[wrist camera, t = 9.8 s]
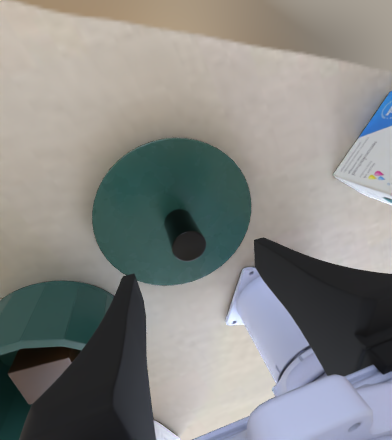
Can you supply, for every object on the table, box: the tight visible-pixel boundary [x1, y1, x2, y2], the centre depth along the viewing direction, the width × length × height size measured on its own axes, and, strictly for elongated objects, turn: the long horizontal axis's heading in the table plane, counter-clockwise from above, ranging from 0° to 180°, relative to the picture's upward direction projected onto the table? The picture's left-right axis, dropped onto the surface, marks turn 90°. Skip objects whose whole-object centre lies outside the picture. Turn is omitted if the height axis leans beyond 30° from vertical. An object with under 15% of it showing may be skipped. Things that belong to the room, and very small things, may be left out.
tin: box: [0, 281, 114, 440], centre depth 20 cm, size 12×12×6 cm
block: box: [8, 346, 82, 404], centre depth 20 cm, size 4×4×4 cm
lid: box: [92, 138, 251, 286], centre depth 18 cm, size 13×13×5 cm
